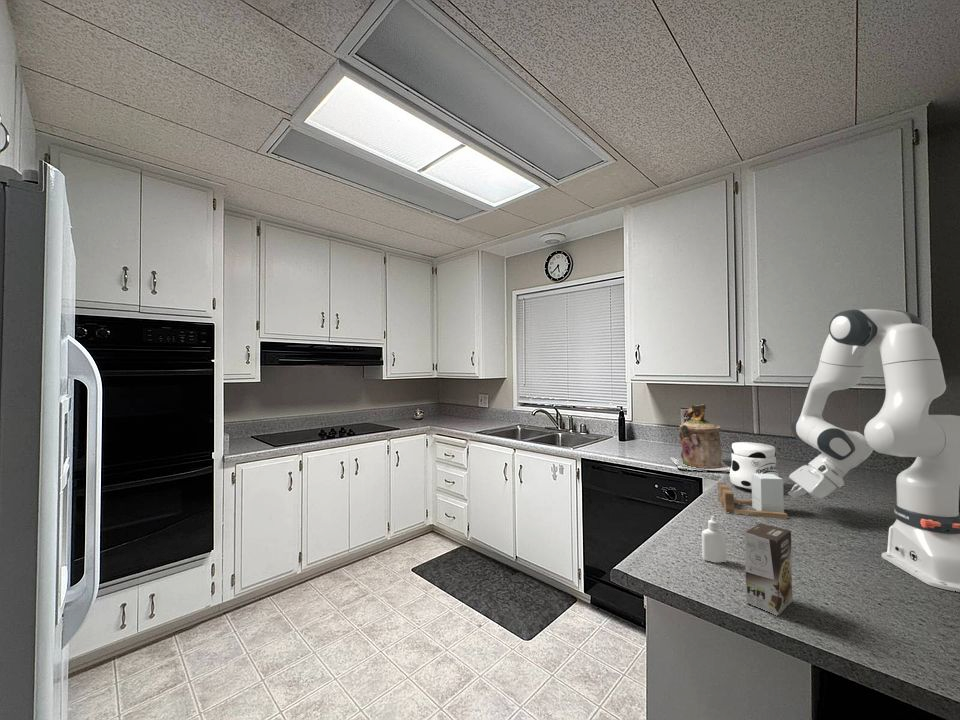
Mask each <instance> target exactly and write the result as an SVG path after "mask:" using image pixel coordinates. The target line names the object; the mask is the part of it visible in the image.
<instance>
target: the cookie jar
mask: <svg viewBox="0 0 960 720" xmlns="http://www.w3.org/2000/svg"><path fill="white" fill-rule="evenodd" d="M706 407H707V406H706V404H703V403H702V404H700V405H697V404H693V405H692V406H691V407H690V408H686V409H685V410H684V413H685V416H687V419H686V421H685V422H683V423H682V424H680V425H679V427H678V428H679V431H680V432H679V435H678V437H679V440H680V444H681V446H682V450H681V452H680V456H681V457H680V459H682V461H683V464H685V465H687V466H691V467H696V468H704V469H705V470H714V471H726V472H725V473H727V472H730V469H731V466H729V465H728V464H726V463H725V462H724V461H723V460H722V456H723V448H722V441H721V435H720V431H721V430H722V426H720V425H718V424H713V423H711V422H710V421H708V420H706V419H705V414H706V413H705V411H706V410H705V409H707V408H706ZM677 459H678V458H677ZM677 459H675V457H670V460H671V461H672V463H673V462H674V463H675V464H679V463H678V462H679V460H677ZM677 461H678V462H677ZM674 463H673V464H674ZM675 464H674V465H675ZM678 468H679V469H681V470H685V471H688V470H695V469H691V468H687V467H682V466H678ZM678 468H677V469H678ZM686 469H687V470H686Z"/></svg>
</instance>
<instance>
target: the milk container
mask: <svg viewBox="0 0 960 720" xmlns="http://www.w3.org/2000/svg"><path fill="white" fill-rule="evenodd" d="M776 451H777V450H776V447H775V446H773V445H771V444H766V443H761V442H751V441H740V442H733V443H731V466H730V468H731V469H730V473H729V479H730V480H729V481H730V483H731V485H733V486H735V487H736V488H739V489H742V490H745V491H750V492H752V477H751V474H752V473H758V474H774V475H776V476H778V477H779V473H778V470H777V453H776Z"/></svg>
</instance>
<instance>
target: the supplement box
mask: <svg viewBox="0 0 960 720" xmlns="http://www.w3.org/2000/svg"><path fill="white" fill-rule="evenodd" d="M778 476H779V475H778ZM778 476H776V475H774V474H758V473H752V474H751V477H752V491H751V497H752V498H751V500H752V505H751V506H752V508H753V510H755V509H756V510H757V511H768V512H779V513H785V505H784V503H785V499H784V478H781V477H778Z"/></svg>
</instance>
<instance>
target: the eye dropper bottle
mask: <svg viewBox="0 0 960 720" xmlns="http://www.w3.org/2000/svg"><path fill="white" fill-rule="evenodd" d="M726 538H727V537H726V534H725V533H724V531H722V530H720V529H719V521H718V520H716V517H715V516H714V515H711V518H710V519H709V520H707V528H705V529H703V530H702V531H701V556H702V557H703V558H702V559H703V560H704V559H705V560H708V561H715V562H725V561H726V562H727V542H726V541H727V539H726ZM705 560H704V561H705ZM726 562H725V563H726Z"/></svg>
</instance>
